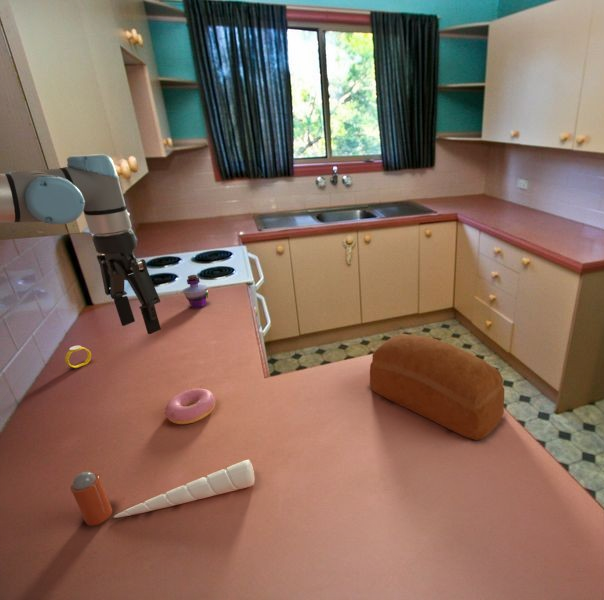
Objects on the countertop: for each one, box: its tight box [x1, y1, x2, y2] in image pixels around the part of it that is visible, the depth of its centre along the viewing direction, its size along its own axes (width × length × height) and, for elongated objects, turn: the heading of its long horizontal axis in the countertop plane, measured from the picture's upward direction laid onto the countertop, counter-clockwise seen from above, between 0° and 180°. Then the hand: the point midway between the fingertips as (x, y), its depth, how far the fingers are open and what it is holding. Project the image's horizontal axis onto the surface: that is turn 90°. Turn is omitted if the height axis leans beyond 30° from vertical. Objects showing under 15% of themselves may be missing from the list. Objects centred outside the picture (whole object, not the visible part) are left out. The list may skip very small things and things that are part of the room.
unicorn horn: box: [113, 459, 256, 519], centre depth 78 cm, size 5×24×5 cm, turn 106°
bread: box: [369, 333, 505, 441], centre depth 100 cm, size 14×33×16 cm, turn 50°
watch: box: [64, 344, 92, 369], centre depth 121 cm, size 6×3×6 cm, turn 151°
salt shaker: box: [70, 471, 113, 527], centre depth 73 cm, size 4×4×10 cm
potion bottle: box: [182, 274, 209, 309], centre depth 158 cm, size 9×9×12 cm
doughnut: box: [164, 387, 216, 425], centre depth 101 cm, size 11×11×4 cm
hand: (141, 327), depth 98 cm, fingers open, 9 cm apart
